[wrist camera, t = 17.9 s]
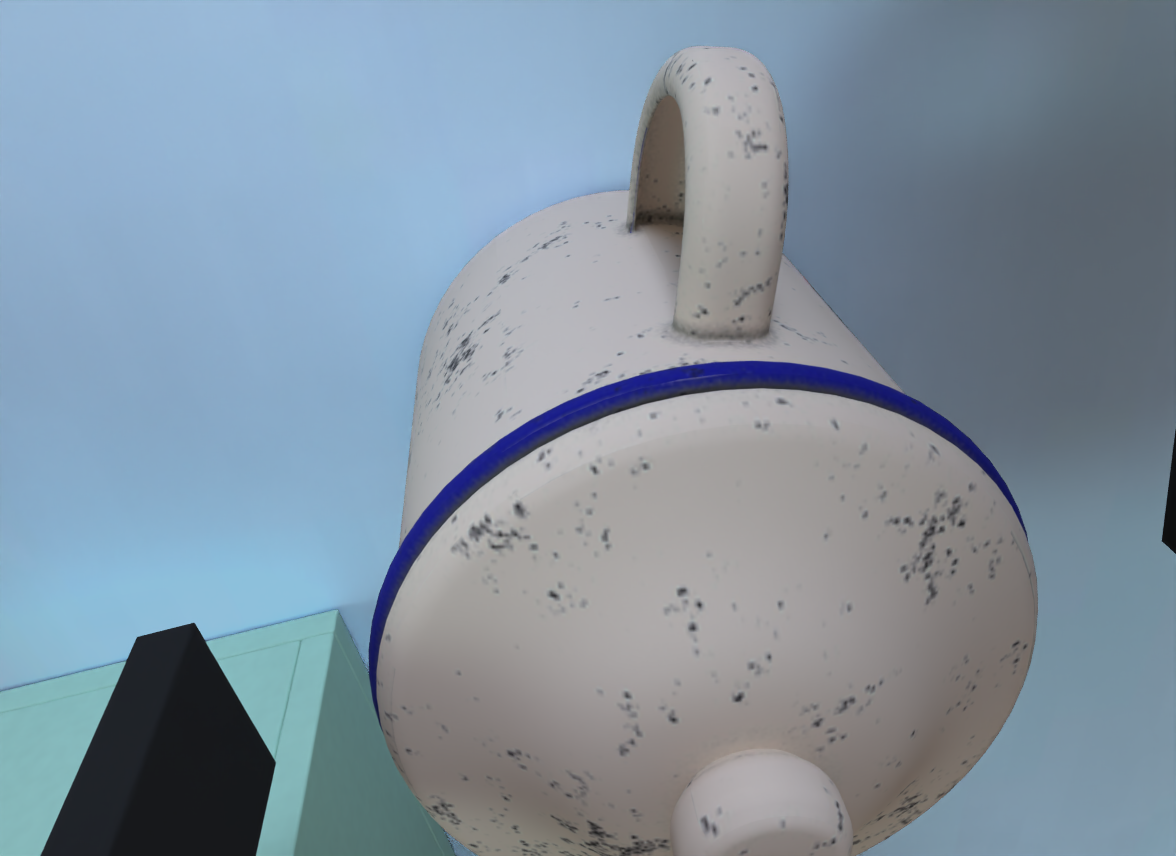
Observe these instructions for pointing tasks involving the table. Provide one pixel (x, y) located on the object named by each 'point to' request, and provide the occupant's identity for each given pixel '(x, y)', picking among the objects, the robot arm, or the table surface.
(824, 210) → the table surface
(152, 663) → the robot arm
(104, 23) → the table surface
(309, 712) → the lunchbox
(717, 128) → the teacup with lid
